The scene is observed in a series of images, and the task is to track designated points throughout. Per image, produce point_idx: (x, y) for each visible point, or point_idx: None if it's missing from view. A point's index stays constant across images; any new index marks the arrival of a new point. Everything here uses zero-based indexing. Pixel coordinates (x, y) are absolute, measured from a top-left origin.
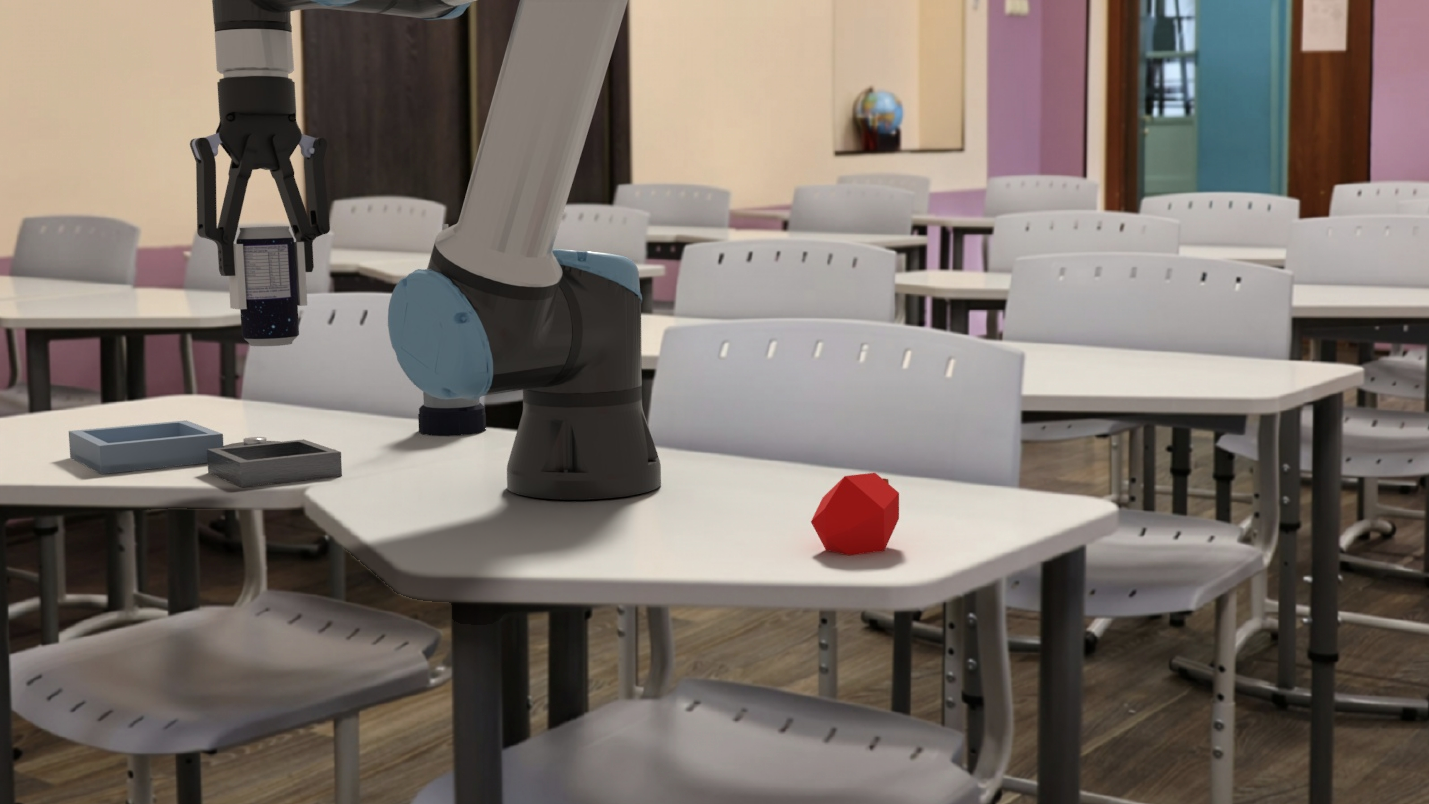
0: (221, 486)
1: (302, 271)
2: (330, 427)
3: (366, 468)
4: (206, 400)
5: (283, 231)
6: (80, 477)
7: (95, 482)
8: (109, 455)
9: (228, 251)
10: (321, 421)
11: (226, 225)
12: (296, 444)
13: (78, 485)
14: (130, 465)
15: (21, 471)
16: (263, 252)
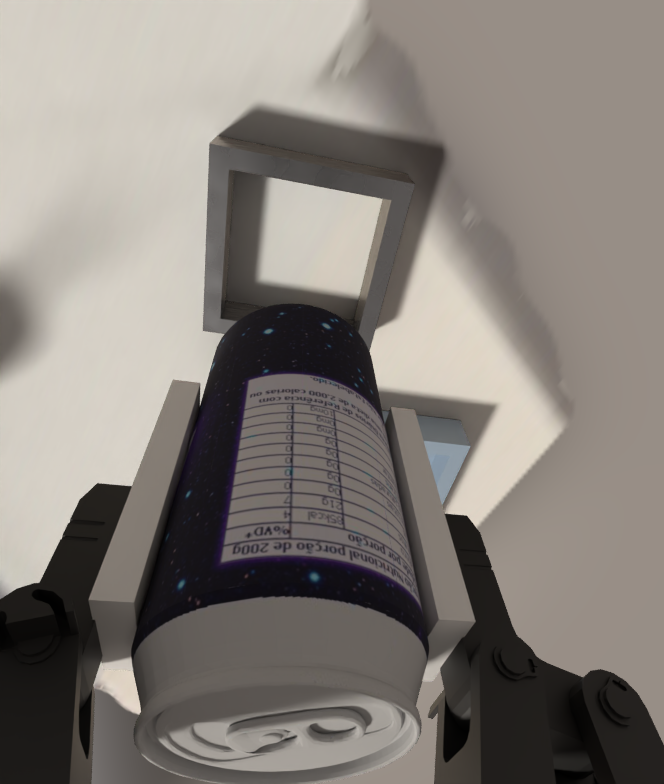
0: (418, 215)
1: (152, 473)
2: (63, 520)
3: (144, 177)
4: (132, 694)
5: (220, 654)
6: (487, 419)
7: (501, 377)
8: (454, 434)
9: (478, 606)
10: None
11: (548, 740)
12: (224, 316)
13: (527, 373)
14: (424, 420)
15: (498, 490)
16: (366, 534)
